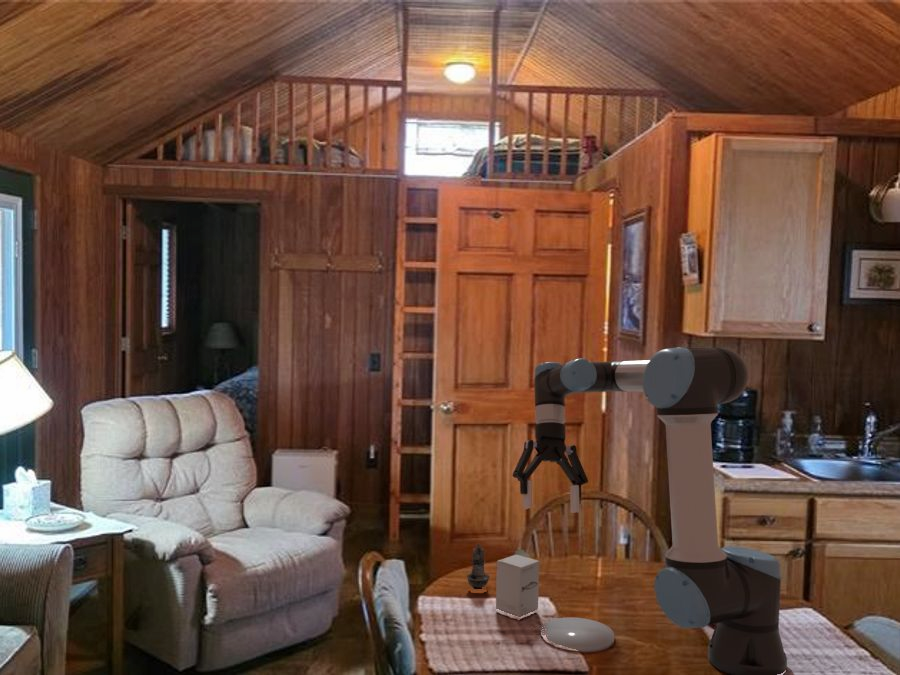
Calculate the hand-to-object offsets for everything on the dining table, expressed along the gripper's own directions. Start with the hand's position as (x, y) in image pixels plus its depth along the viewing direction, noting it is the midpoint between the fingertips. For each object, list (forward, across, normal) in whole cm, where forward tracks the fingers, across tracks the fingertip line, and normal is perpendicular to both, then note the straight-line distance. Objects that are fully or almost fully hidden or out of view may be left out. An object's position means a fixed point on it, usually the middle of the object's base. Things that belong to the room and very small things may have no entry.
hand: (551, 510), depth 193 cm
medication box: (+13, -10, -29) cm, 34 cm away
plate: (+28, +1, +11) cm, 30 cm away
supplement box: (+24, +7, -5) cm, 25 cm away
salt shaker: (+19, +9, -21) cm, 30 cm away
